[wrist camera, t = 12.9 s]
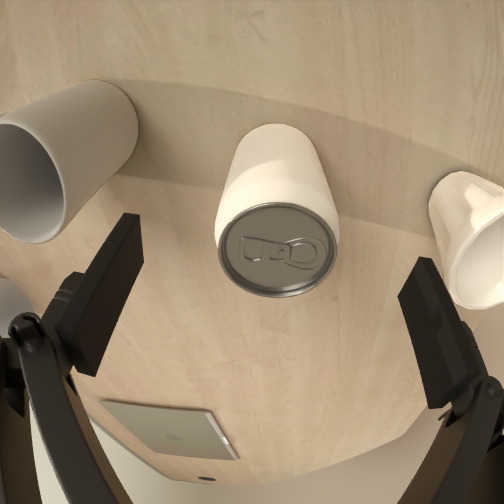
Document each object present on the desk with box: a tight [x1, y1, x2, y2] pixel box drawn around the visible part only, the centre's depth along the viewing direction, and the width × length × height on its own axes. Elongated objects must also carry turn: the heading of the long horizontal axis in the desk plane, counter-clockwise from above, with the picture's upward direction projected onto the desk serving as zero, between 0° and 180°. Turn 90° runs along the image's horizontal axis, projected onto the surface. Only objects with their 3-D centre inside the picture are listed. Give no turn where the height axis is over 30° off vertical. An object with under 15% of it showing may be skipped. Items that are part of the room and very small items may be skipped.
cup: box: [428, 171, 504, 310], centre depth 21 cm, size 10×10×9 cm
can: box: [215, 124, 340, 298], centre depth 20 cm, size 6×6×12 cm
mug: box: [0, 80, 138, 244], centre depth 18 cm, size 12×8×11 cm
